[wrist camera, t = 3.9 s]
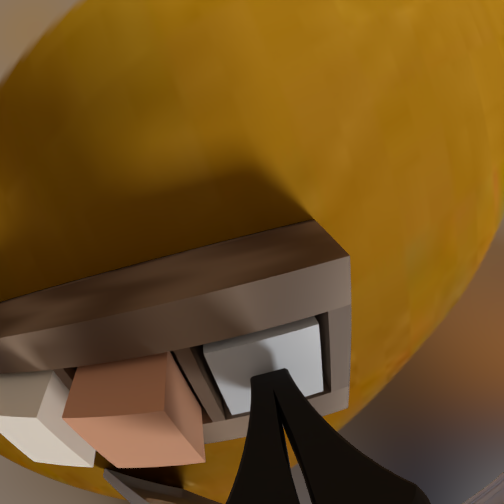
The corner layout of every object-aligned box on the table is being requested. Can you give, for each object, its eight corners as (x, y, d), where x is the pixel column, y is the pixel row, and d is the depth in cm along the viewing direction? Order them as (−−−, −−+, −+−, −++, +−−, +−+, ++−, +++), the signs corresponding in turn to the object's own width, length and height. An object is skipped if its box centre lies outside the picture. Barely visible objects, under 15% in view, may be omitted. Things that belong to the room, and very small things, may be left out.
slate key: (225, 368, 15) (232, 415, 12) (201, 305, 13) (203, 353, 10) (304, 347, 15) (323, 391, 12) (295, 281, 13) (318, 323, 10)
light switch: (100, 484, 19) (153, 538, 9) (113, 432, 23) (174, 447, 13) (180, 504, 22) (276, 542, 13) (190, 456, 26) (288, 469, 17)
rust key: (123, 418, 13) (117, 468, 10) (79, 362, 11) (61, 418, 8) (201, 407, 13) (205, 462, 10) (167, 347, 11) (164, 410, 8)
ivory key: (45, 420, 12) (34, 461, 10) (1, 370, 10) (-20, 413, 8) (101, 419, 12) (93, 467, 10) (55, 365, 11) (36, 417, 8)
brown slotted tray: (62, 409, 16) (51, 449, 13) (-15, 306, 12) (-43, 345, 9) (326, 362, 17) (347, 407, 14) (313, 219, 13) (349, 255, 10)
